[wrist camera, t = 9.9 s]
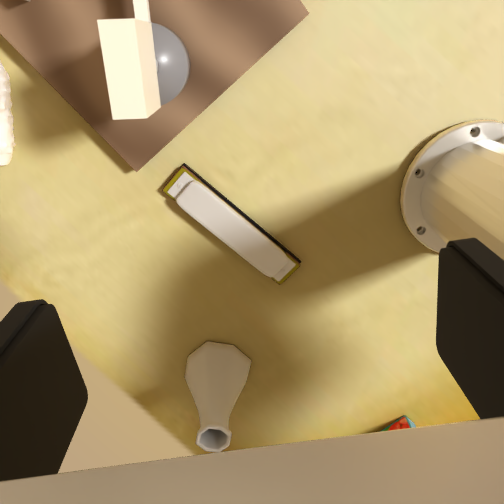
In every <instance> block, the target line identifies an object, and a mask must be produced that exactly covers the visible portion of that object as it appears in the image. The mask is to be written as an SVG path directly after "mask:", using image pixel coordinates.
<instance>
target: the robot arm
mask: <svg viewBox="0 0 504 504" xmlns="http://www.w3.org/2000/svg"><path fill="white" fill-rule="evenodd" d="M472 128H473V131H472V132H471V133H470V131H471V129H472ZM418 169H419V171H418V173H416V174H415V172H416V170H418ZM400 205H401V211H402V216H403V219H404V221H405V224H406V226H407V227H408V229H409V230H410V232H411V233H412V235H413V236H414V237H415V238H416V239H417V240H418V241H419V242H420V243H422V244H423V245H424V246H426V247H427V248H428V249H431V250H433V251H435V252H437V253H439V268H438V297H437V327H436V346H437V350H438V353H439V355H440V357H441V359H442V360H443V362H444V363H445V365H446V366H447V368H448V370H449V371H450V373H451V374H452V376H453V377H454V379H455V380H456V382H457V383H458V385H459V386H460V388H461V390H462V391H463V393H464V394H465V396H466V397H467V399H468V400H469V402H470V403H471V405H472V406H473V408H474V410H475V411H476V413H477V414H478V416H479V417H480V420H471V421H463V422H455V423H447V424H439V425H431V426H423V427H415V428H407V429H398V430H390V431H382V432H374V433H366V434H358V435H350V436H342V437H334V438H326V439H319V440H311V441H303V442H295V443H287V444H279V445H271V446H264V447H256V448H248V449H240V450H232V451H225V452H217V453H209V454H202V455H194V456H187V457H179V458H171V459H164V460H157V461H149V462H141V463H133V464H126V465H118V466H110V467H103V468H95V469H88V470H81V471H74V472H67V473H59V474H57V473H58V471H59V469H60V466H61V464H62V461H63V459H64V457H65V454H66V452H67V449H68V447H69V445H70V442H71V440H72V437H73V435H74V433H75V431H76V428H77V426H78V423H79V421H80V419H81V416H82V414H83V411H84V409H85V407H86V404H87V400H88V394H87V388H86V386H85V383H84V380H83V378H82V375H81V373H80V370H79V367H78V365H77V362H76V360H75V357H74V355H73V352H72V349H71V347H70V344H69V342H68V339H67V336H66V334H65V331H64V329H63V326H62V324H61V321H60V318H59V316H58V313H57V311H56V308H55V307H54V306H53V305H52V304H48V303H47V302H46V301H45V300H43V299H41V300H34V301H27V302H20V303H17V304H16V305H15V306H14V307H13V308H12V309H11V310H10V311H9V313H8V314H7V315H6V316H5V317H4V318H3V320H2V321H1V322H0V504H504V123H503V122H499V121H495V120H475V121H468V122H464V123H461V124H458V125H455V126H453V127H451V128H449V129H447V130H445V131H443V132H441V133H440V134H438V135H437V136H436V137H434V138H433V139H432V140H430V141H429V142H428V143H427V144H426V145H425V146H424V147H423V148H422V149H421V150H420V151H419V152H418V154H417V155H416V157H415V158H414V160H413V161H412V163H411V164H410V166H409V168H408V170H407V172H406V175H405V177H404V180H403V184H402V188H401V198H400ZM418 227H420V228H419V229H417V228H418Z"/></svg>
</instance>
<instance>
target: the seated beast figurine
mask: <svg viewBox="0 0 504 504" xmlns="http://www.w3.org/2000/svg"><path fill="white" fill-rule="evenodd" d="M9 79H10V77H9V75H8V73H7V72H6V70H5V69H4V66H3V65H2V63H1V61H0V165H7V164H9V163H10V161H11V159H12V153H13V147H14V146H15V145H16V143H14V138H15V137H14V135H13V130H14V127H13V115H12V112H11V107H12V102H11V96H10V93H11V89H10V82H9Z"/></svg>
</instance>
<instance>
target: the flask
mask: <svg viewBox="0 0 504 504" xmlns="http://www.w3.org/2000/svg"><path fill="white" fill-rule="evenodd" d="M251 362H252V361H251V360H250V359H249V358H248V357H247V356H246V355H244V354H243V353H242V352H241V351H240V350H239V349H238V348H236V347H235V346H234V345H229V344H222V343H215V342H208V341H207V342H206V343H204V344H203V345H202V346H201V347H199V348H198V349H197V350H195V351H194V352H193V353H192V354H190V355H189V356H188V359H187V365H186V371H185V380H186V382H187V385H188V387H189V389H190V391H191V394H192V396H193V399H194V401H195V404H196V407H197V410H198V412H199V419H200V429H199V430H198V433H197V438H196V445H198V446H199V447H200V448H202V449H203V450H204V451H208V452H221V451H222V450H224V449H225V448H227V447H228V446H229V445H230V441H231V437H232V433H231V431H230V430H229V417H230V414H231V412H232V410H233V407H234V405H235V403H236V401H237V399H238V397H239V395H240V393H241V392H242V390H243V388H244V386H245V384H246V382H247V378H248V374H249V370H250V366H251Z"/></svg>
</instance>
